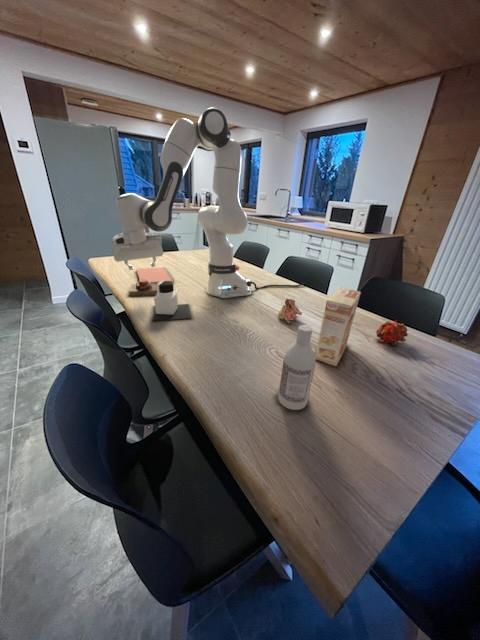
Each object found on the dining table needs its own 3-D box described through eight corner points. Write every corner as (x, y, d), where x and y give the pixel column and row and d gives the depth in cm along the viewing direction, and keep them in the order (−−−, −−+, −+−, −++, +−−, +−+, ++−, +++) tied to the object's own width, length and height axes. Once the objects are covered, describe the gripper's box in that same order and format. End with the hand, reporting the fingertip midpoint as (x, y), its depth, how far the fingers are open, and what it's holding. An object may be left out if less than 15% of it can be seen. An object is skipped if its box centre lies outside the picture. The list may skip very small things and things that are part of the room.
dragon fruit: (402, 344, 95) (375, 353, 92) (390, 324, 98) (363, 331, 96) (419, 335, 88) (390, 344, 85) (405, 313, 91) (377, 321, 88)
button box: (157, 287, 131) (157, 280, 130) (157, 294, 123) (156, 286, 121) (132, 288, 128) (131, 280, 127) (129, 296, 120) (128, 287, 118)
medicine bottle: (178, 308, 109) (176, 280, 104) (173, 315, 103) (171, 285, 98) (161, 306, 110) (158, 279, 104) (155, 314, 103) (152, 284, 98)
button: (148, 283, 126) (147, 278, 125) (147, 285, 123) (147, 281, 122) (139, 283, 125) (139, 279, 124) (138, 286, 122) (138, 281, 121)
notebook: (174, 283, 139) (174, 279, 138) (141, 286, 132) (140, 282, 131) (165, 269, 161) (165, 266, 160) (136, 271, 154) (136, 268, 153)
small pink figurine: (276, 324, 102) (271, 302, 105) (287, 328, 110) (282, 307, 113) (298, 317, 97) (292, 294, 100) (308, 322, 105) (302, 300, 108)
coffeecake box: (336, 367, 78) (352, 306, 69) (313, 358, 81) (325, 299, 72) (347, 345, 89) (362, 291, 81) (326, 339, 93) (338, 286, 84)
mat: (188, 305, 114) (188, 304, 114) (191, 319, 102) (191, 318, 101) (154, 306, 110) (154, 305, 110) (153, 321, 98) (152, 320, 98)
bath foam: (287, 387, 69) (298, 317, 60) (311, 400, 65) (327, 328, 56) (272, 400, 64) (282, 327, 55) (297, 415, 60) (313, 339, 51)
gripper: (160, 232, 115) (165, 262, 123) (109, 237, 110) (118, 268, 117) (161, 235, 110) (166, 267, 118) (108, 241, 105) (117, 273, 112)
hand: (142, 268), depth 117 cm, fingers open, 8 cm apart
